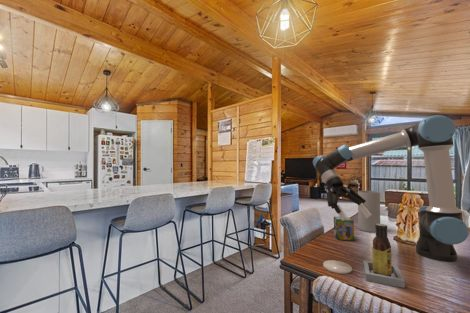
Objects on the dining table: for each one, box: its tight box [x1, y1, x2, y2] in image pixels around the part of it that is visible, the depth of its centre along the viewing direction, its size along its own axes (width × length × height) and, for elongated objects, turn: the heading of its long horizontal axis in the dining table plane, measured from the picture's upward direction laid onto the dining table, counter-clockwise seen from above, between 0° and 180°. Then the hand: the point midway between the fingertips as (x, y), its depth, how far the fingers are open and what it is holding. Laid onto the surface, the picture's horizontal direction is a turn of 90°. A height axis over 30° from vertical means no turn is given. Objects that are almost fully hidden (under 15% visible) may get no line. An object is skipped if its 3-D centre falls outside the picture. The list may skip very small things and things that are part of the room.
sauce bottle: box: [372, 223, 393, 277], centre depth 90 cm, size 6×6×20 cm
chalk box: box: [333, 216, 355, 241], centre depth 135 cm, size 9×9×15 cm
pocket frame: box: [362, 259, 406, 289], centre depth 89 cm, size 12×13×2 cm
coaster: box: [322, 259, 353, 275], centre depth 96 cm, size 11×11×1 cm
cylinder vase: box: [357, 190, 381, 233], centre depth 151 cm, size 12×12×25 cm
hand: (357, 218), depth 101 cm, fingers open, 13 cm apart
